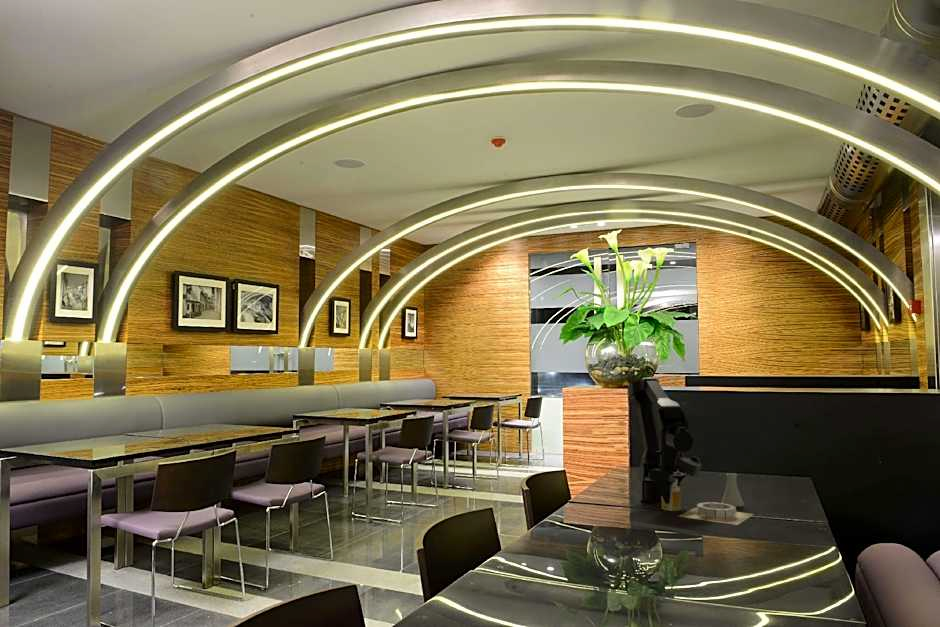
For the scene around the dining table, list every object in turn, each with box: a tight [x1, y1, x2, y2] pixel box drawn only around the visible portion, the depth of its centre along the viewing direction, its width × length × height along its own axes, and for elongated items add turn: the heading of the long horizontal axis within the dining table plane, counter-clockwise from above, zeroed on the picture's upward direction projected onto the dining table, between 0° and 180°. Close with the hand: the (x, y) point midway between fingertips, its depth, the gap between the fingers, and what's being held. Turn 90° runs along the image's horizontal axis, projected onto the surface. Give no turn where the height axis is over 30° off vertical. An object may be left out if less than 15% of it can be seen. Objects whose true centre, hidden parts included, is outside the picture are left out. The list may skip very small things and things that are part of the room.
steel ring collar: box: [696, 501, 737, 519], centre depth 186 cm, size 10×10×2 cm
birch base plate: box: [677, 506, 755, 526], centre depth 186 cm, size 16×16×1 cm
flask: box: [720, 472, 745, 508], centre depth 201 cm, size 7×7×10 cm
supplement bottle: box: [661, 478, 682, 512], centre depth 194 cm, size 5×5×10 cm
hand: (671, 501), depth 194 cm, fingers closed on supplement bottle, 5 cm apart
